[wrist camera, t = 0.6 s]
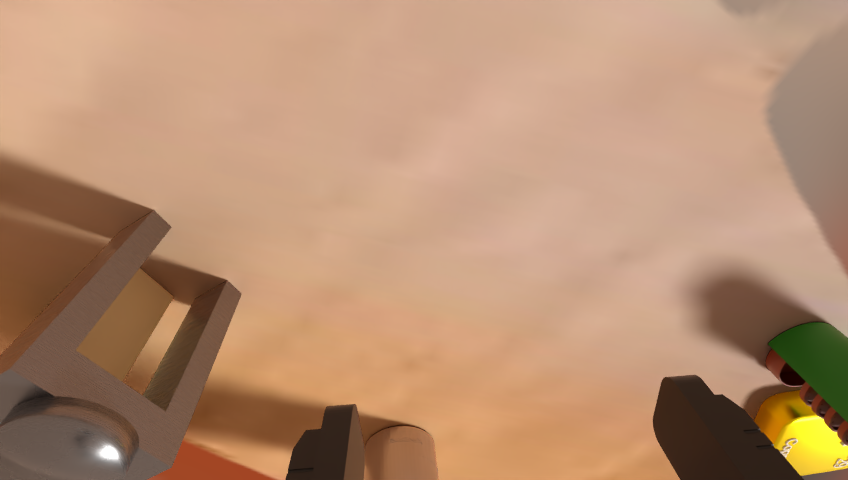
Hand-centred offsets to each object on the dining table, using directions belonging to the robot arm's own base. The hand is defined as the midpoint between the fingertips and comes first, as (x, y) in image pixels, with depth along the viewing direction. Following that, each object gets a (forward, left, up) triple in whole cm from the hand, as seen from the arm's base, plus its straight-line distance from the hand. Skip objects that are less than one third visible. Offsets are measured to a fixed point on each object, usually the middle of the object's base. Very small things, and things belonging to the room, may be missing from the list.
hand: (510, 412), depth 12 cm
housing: (-17, +19, -29) cm, 39 cm away
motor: (-22, -53, -29) cm, 65 cm away
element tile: (-36, -63, -30) cm, 79 cm away
